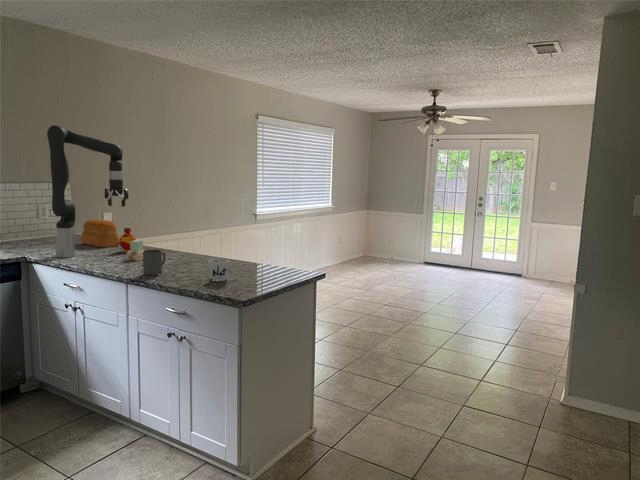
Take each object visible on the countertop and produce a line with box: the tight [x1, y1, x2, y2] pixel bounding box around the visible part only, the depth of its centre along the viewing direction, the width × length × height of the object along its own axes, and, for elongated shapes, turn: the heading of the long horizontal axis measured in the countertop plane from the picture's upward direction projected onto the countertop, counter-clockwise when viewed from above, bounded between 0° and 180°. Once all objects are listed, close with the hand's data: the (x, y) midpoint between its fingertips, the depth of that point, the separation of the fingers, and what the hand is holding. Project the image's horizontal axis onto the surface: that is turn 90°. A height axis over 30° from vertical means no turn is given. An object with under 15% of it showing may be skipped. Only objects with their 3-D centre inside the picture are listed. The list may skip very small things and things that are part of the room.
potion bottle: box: [119, 227, 137, 253], centre depth 310 cm, size 10×10×15 cm
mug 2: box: [207, 258, 231, 280], centre depth 244 cm, size 10×15×10 cm
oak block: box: [126, 249, 145, 262], centre depth 289 cm, size 8×8×5 cm
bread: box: [80, 218, 120, 248], centre depth 332 cm, size 16×26×17 cm, turn 56°
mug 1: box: [142, 249, 166, 276], centre depth 253 cm, size 14×9×12 cm
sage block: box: [130, 239, 144, 252], centre depth 288 cm, size 5×5×6 cm
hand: (116, 206), depth 292 cm, fingers open, 8 cm apart
